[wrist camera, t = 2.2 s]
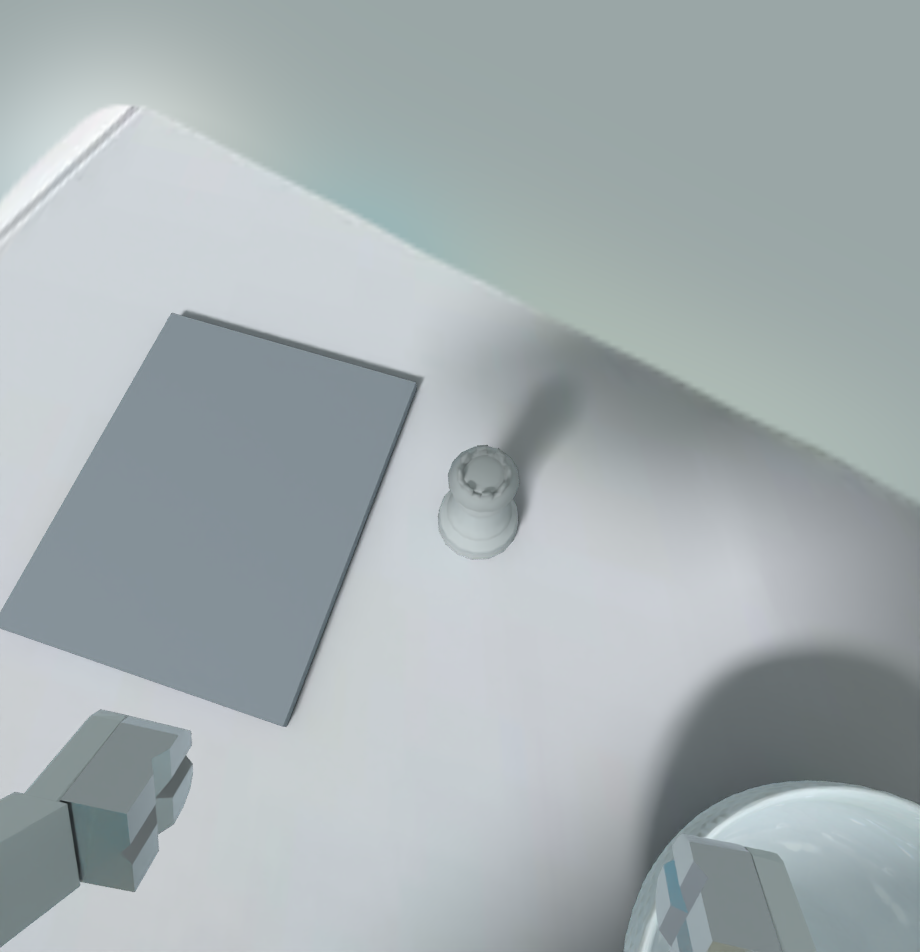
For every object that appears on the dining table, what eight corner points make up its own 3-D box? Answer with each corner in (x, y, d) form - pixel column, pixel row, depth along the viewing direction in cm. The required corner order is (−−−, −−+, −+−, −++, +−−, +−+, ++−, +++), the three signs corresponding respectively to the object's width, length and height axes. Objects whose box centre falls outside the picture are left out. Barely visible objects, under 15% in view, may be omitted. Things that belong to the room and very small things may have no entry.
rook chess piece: (470, 578, 34) (476, 539, 27) (421, 515, 36) (414, 462, 28) (533, 530, 35) (555, 480, 28) (484, 471, 37) (492, 407, 29)
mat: (286, 726, 31) (282, 726, 31) (3, 627, 33) (-8, 625, 32) (416, 388, 38) (415, 382, 38) (176, 320, 40) (171, 312, 39)
